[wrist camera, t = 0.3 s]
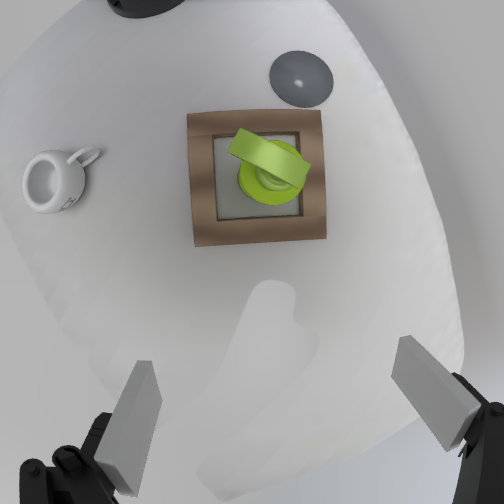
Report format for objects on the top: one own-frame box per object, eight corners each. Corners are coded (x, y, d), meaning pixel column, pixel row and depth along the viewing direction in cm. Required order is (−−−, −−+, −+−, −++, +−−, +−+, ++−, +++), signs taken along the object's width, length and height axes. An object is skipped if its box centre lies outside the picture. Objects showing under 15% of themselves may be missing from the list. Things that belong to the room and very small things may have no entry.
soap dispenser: (244, 144, 37) (254, 101, 17) (290, 168, 38) (344, 151, 18) (223, 183, 38) (212, 178, 18) (269, 207, 39) (305, 226, 19)
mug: (63, 220, 37) (33, 228, 30) (41, 176, 35) (11, 176, 28) (120, 173, 37) (96, 171, 29) (95, 127, 35) (69, 117, 27)
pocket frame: (189, 118, 36) (187, 114, 33) (315, 114, 36) (320, 110, 34) (197, 243, 39) (194, 246, 37) (321, 235, 40) (326, 238, 38)
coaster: (267, 51, 34) (267, 49, 33) (328, 54, 34) (329, 53, 34) (271, 107, 36) (272, 105, 35) (335, 109, 36) (336, 108, 36)
